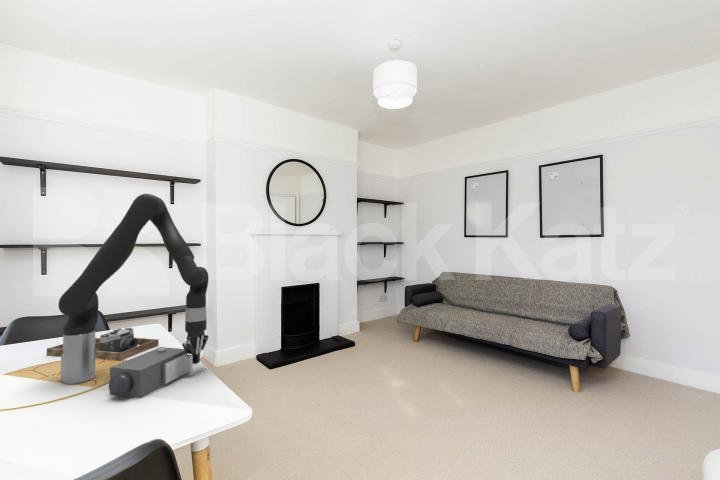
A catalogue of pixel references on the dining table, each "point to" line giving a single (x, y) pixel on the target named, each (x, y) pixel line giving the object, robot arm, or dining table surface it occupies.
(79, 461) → the dining table surface
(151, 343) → the camera corral
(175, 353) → the camera housing
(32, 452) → the dining table surface
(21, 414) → the dining table surface
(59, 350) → the charger corral
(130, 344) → the camera
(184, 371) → the battery door
